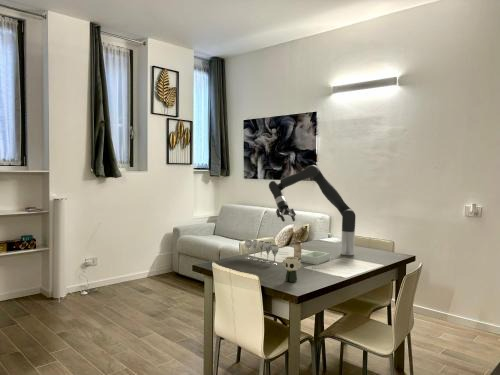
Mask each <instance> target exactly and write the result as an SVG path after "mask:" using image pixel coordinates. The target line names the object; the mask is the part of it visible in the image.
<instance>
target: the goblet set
mask: <svg viewBox="0 0 500 375" xmlns="http://www.w3.org/2000/svg"><path fill="white" fill-rule="evenodd" d="M244 248H246V249H247V250H246V251H247V256H246V257H245V259H247V260H248V259H249V260H251V259H253V260H252V261H258V260H259V261H258V262H261V261H262V262H264V261H263V260H264V259H258V258H256V251H257V248H258V249H259V252H260V256H262V253H263V251H265V252H266V255H267V259H266V262H270V261H269V254H270V252H271V253H272V255H273V258H274V260H273V262H272V263H273V264H272V265H274V264H276V265H278V264H277V262H276V256H277V254H278V252H279V250H280V249H279V245H278V244H277V245H276V244H273V243H272V242H271V241H266V242H264V240H259V241H258V240H257V239H253V240H251V239H250V240H249V239H248V240H245V241H244ZM252 248H253V251H254V255H253V256H254V258H252V257H249V254H250V249H252ZM250 258H251V259H250Z"/></svg>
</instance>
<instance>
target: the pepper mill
mask: <svg viewBox="0 0 500 375" xmlns="http://www.w3.org/2000/svg"><path fill="white" fill-rule="evenodd" d="M302 244H303V243H302V241H301V240H294V243H293V257H297V258H298V260H301V256H302V246H303V245H302Z"/></svg>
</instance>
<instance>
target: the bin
mask: <svg viewBox="0 0 500 375" xmlns="http://www.w3.org/2000/svg"><path fill="white" fill-rule="evenodd" d="M330 256H331V253H330V252H325V251H323V252H322V251H317V250H313V251H310V252H307V253H303V254H301V259H300V260H301V261H300V263H301V262H302V263H307V264H313V265H316V266H317V265H320V264H323V263H325V262H328V261H330V259H331V258H330Z"/></svg>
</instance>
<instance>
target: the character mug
mask: <svg viewBox="0 0 500 375" xmlns="http://www.w3.org/2000/svg"><path fill="white" fill-rule="evenodd" d="M282 266H284V268H285V270H286V272H285V281H286V282H291V283H294V282H297V280H298V276H297V275H298V274H297V270H299V269H301V267H302V264H301V261H299V259H298V258H297V257H294V256H286V257H285V259H283V260H282Z"/></svg>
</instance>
